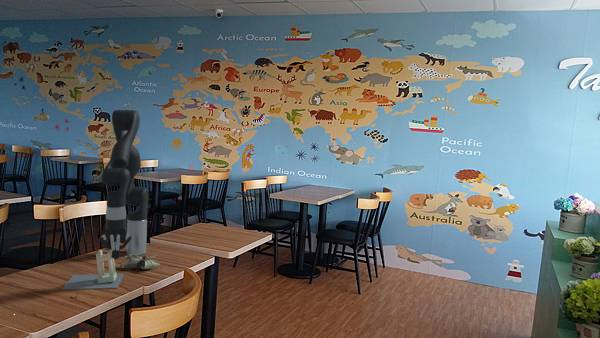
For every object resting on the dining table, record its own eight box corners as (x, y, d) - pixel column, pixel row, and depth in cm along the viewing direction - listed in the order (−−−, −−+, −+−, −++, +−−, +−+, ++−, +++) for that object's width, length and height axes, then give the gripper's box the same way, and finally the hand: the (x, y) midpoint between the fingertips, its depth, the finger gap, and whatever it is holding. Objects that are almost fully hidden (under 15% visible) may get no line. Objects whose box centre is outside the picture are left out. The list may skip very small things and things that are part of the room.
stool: (101, 278, 185) (98, 250, 183) (116, 276, 186) (113, 248, 185) (98, 283, 179) (95, 254, 178) (114, 281, 180) (111, 252, 179)
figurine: (139, 249, 213) (171, 253, 209) (139, 261, 214) (170, 266, 209) (112, 257, 194) (146, 263, 190) (111, 271, 194) (145, 277, 190)
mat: (73, 275, 187) (73, 274, 187) (123, 274, 191) (123, 273, 191) (61, 289, 171) (61, 288, 171) (117, 288, 176) (117, 287, 176)
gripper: (134, 215, 186) (134, 255, 187) (100, 215, 183) (100, 256, 184) (132, 219, 179) (131, 261, 180) (96, 219, 175) (96, 262, 177)
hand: (115, 258), depth 182 cm, fingers closed
